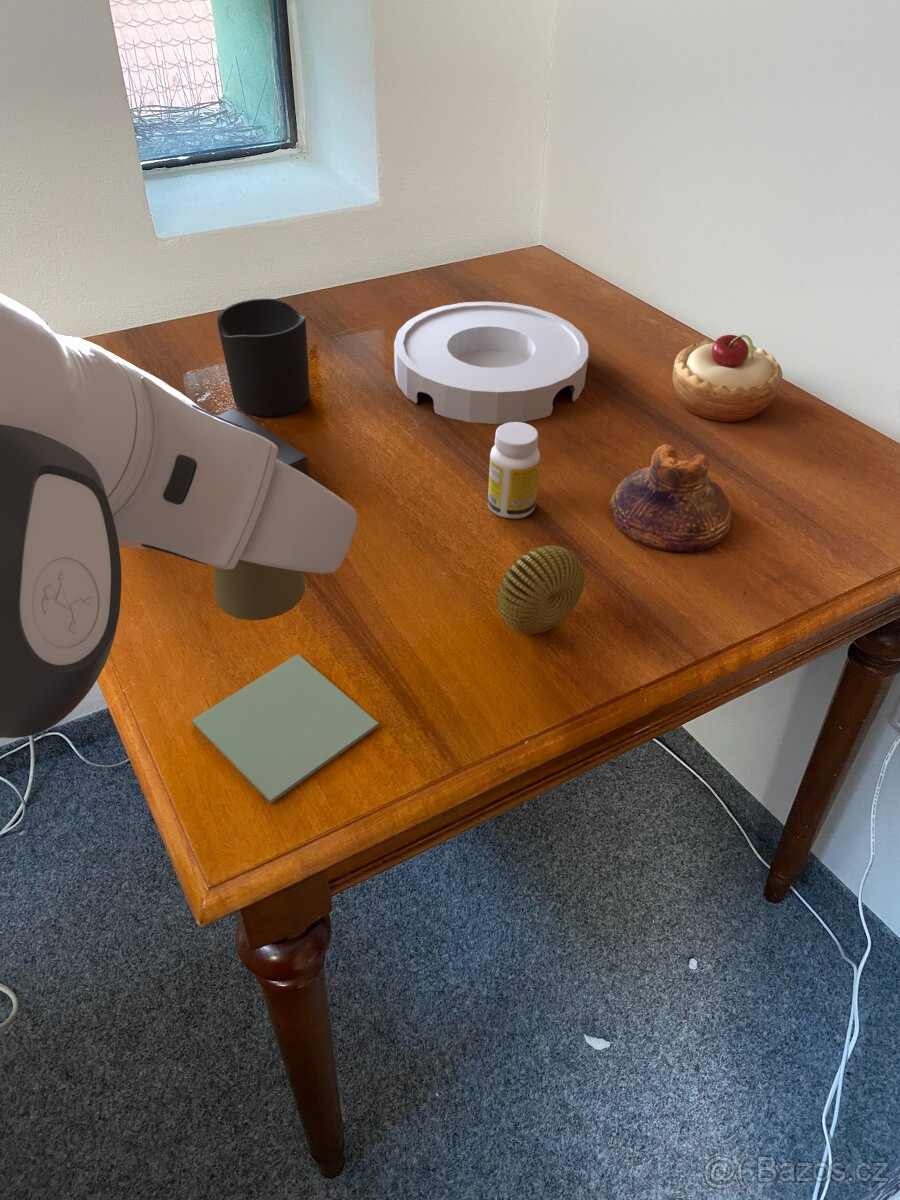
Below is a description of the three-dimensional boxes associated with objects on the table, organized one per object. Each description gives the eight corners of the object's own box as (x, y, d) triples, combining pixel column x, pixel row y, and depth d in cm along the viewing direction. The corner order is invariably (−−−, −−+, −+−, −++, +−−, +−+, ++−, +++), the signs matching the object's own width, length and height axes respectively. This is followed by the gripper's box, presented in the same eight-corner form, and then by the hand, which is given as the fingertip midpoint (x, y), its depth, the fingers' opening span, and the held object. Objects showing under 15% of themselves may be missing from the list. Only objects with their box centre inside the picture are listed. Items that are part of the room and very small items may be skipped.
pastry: (717, 368, 109) (734, 299, 103) (792, 409, 102) (815, 338, 96) (646, 394, 104) (660, 323, 98) (721, 439, 97) (740, 366, 91)
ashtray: (571, 331, 116) (575, 301, 113) (598, 424, 99) (603, 392, 96) (396, 330, 115) (395, 300, 112) (393, 423, 98) (392, 392, 95)
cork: (298, 621, 57) (279, 481, 50) (206, 619, 57) (173, 479, 50) (310, 562, 62) (294, 425, 54) (224, 560, 62) (197, 423, 54)
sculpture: (558, 594, 78) (568, 523, 72) (587, 621, 75) (600, 549, 70) (484, 628, 74) (489, 556, 69) (513, 657, 72) (520, 584, 66)
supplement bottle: (542, 499, 88) (550, 427, 82) (524, 525, 85) (532, 451, 79) (498, 487, 90) (503, 414, 84) (479, 512, 86) (483, 438, 81)
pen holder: (320, 381, 105) (313, 301, 98) (303, 423, 98) (294, 339, 91) (243, 376, 105) (231, 296, 98) (220, 417, 98) (205, 333, 92)
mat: (271, 804, 61) (270, 800, 61) (192, 723, 66) (191, 719, 66) (379, 726, 66) (378, 723, 66) (298, 657, 71) (297, 653, 71)
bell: (584, 509, 87) (593, 447, 82) (666, 469, 92) (680, 408, 87) (672, 571, 80) (689, 507, 75) (755, 524, 86) (776, 462, 81)
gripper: (-67, 453, 46) (113, 507, 59) (244, 579, 39) (371, 609, 52) (-26, 340, 46) (145, 419, 59) (293, 446, 39) (408, 509, 52)
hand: (253, 509), depth 55 cm, fingers closed on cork, 5 cm apart
